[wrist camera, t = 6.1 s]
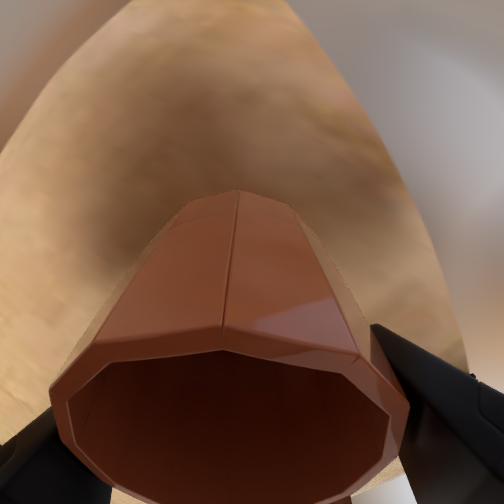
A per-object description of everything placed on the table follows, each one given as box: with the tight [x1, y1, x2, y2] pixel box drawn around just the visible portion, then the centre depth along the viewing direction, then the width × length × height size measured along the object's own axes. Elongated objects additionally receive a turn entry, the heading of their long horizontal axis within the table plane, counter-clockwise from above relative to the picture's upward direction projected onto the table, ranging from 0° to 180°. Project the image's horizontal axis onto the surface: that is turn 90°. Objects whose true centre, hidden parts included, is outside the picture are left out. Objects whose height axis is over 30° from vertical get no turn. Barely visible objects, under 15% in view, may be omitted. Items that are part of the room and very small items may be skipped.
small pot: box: [49, 190, 410, 504], centre depth 9 cm, size 7×7×8 cm
